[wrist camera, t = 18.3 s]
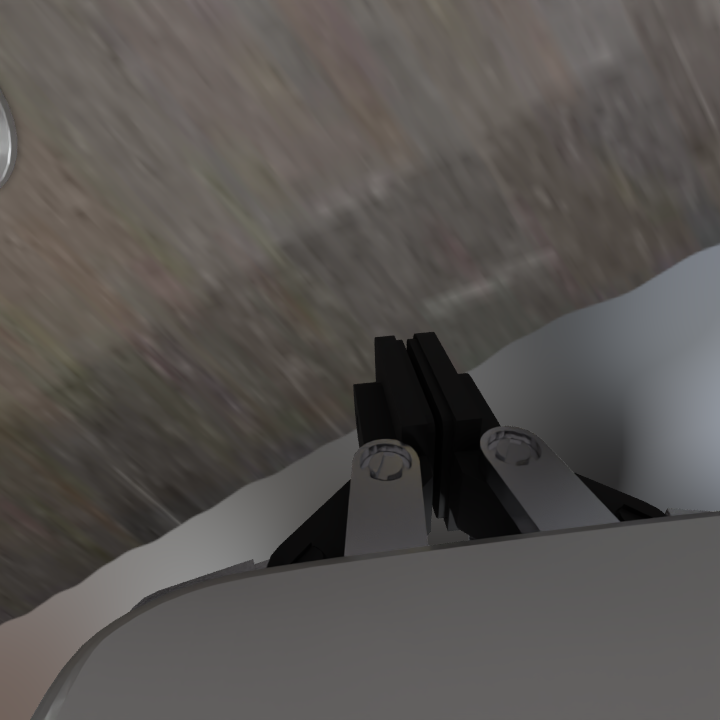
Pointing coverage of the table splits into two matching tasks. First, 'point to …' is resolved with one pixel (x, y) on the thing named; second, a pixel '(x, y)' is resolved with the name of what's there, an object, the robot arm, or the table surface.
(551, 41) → the table surface
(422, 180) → the table surface
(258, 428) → the table surface
